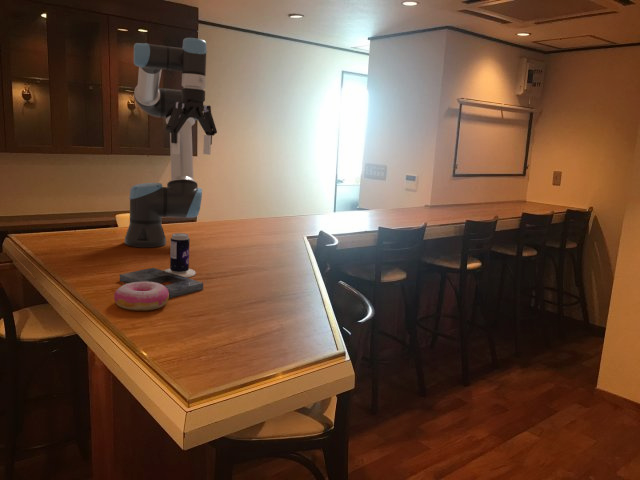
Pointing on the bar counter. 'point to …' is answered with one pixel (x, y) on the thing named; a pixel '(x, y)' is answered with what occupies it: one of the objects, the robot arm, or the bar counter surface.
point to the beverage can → (179, 253)
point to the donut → (141, 296)
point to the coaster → (187, 274)
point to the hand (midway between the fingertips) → (191, 154)
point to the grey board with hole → (158, 276)
